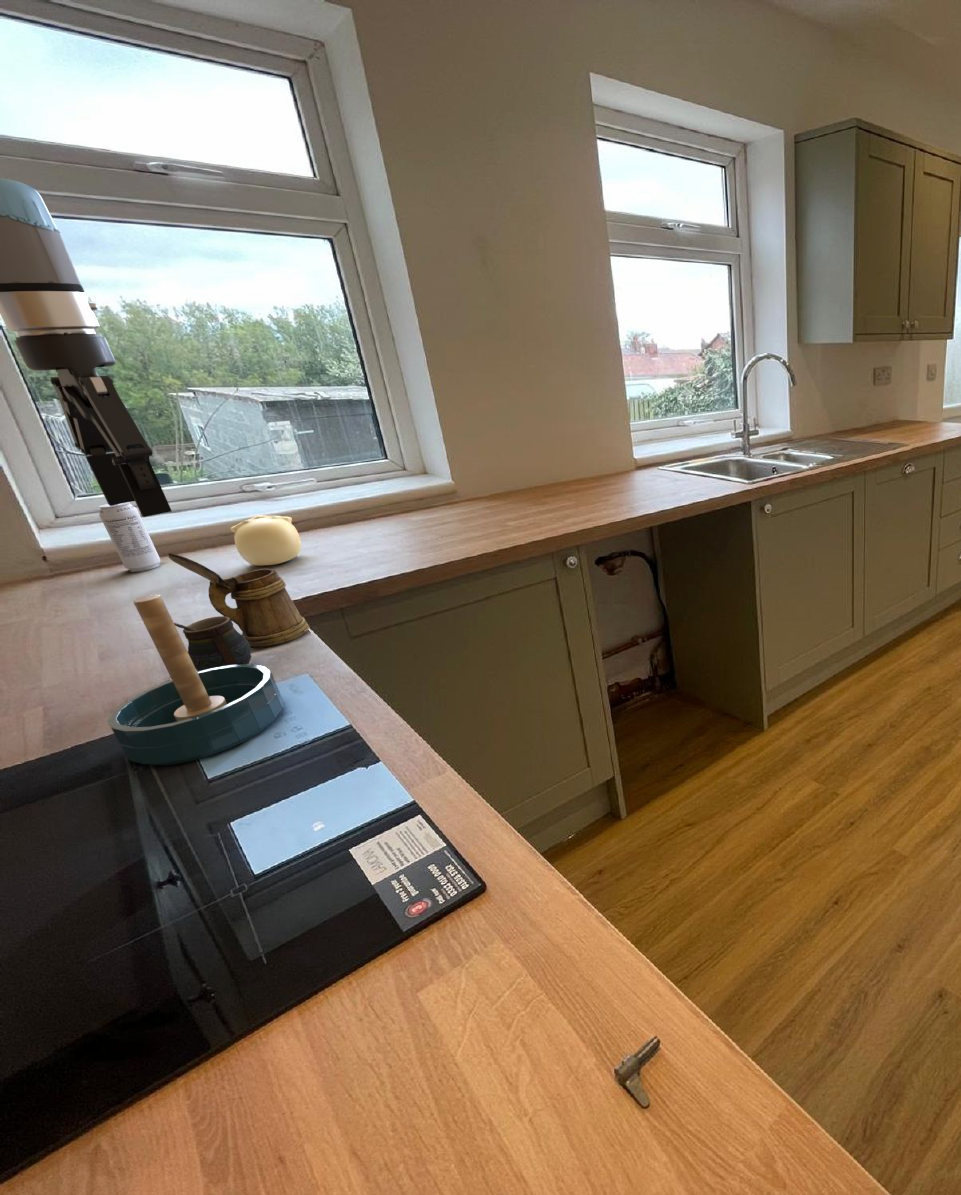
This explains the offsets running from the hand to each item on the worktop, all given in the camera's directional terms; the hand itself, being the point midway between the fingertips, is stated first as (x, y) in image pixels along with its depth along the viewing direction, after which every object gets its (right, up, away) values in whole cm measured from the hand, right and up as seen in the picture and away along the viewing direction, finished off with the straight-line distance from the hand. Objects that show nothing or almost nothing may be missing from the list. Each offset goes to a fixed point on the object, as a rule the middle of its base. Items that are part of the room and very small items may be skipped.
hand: (139, 508), depth 84 cm
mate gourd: (-1, -23, +14) cm, 27 cm away
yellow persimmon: (-33, -4, +63) cm, 71 cm away
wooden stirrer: (+10, -28, -1) cm, 30 cm away
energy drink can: (-63, -5, +63) cm, 89 cm away
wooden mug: (-3, -19, +23) cm, 31 cm away
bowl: (+10, -29, -1) cm, 31 cm away
